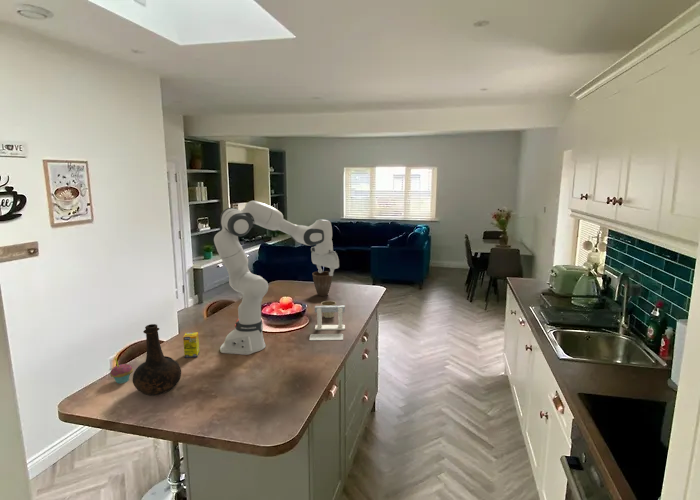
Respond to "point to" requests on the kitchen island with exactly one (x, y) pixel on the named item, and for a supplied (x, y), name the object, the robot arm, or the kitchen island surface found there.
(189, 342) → the supplement box
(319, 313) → the twin post stand
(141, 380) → the glass bottle
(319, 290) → the plant pot
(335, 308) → the rail
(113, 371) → the cupcake
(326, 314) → the flower pot
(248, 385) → the kitchen island surface
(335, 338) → the pad
